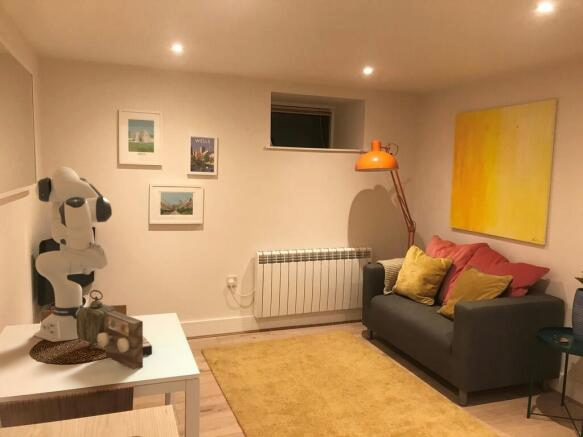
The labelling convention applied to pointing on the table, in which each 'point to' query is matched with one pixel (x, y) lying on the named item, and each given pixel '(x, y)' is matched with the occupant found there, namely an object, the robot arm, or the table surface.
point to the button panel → (128, 329)
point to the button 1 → (103, 339)
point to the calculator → (146, 347)
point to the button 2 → (123, 345)
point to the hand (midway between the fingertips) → (86, 273)
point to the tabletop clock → (92, 320)
